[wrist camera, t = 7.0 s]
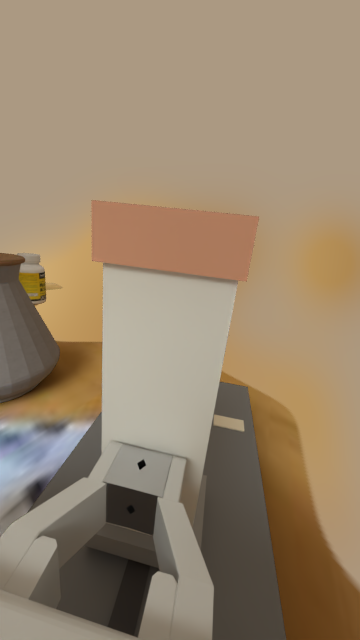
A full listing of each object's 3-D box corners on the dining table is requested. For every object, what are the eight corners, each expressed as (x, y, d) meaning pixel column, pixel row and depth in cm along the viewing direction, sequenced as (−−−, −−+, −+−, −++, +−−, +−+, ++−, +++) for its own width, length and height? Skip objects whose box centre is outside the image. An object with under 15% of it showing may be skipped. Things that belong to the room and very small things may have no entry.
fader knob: (84, 545, 11) (77, 197, 6) (121, 467, 15) (131, 214, 10) (196, 579, 10) (273, 216, 6) (204, 488, 14) (254, 227, 10)
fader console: (-208, 917, 6) (-258, 895, 5) (134, 385, 27) (135, 364, 27) (332, 1254, 4) (390, 1304, 3) (243, 407, 26) (247, 386, 25)
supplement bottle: (45, 305, 51) (42, 256, 48) (14, 305, 49) (9, 254, 45) (47, 298, 55) (44, 253, 52) (19, 298, 53) (14, 251, 50)
